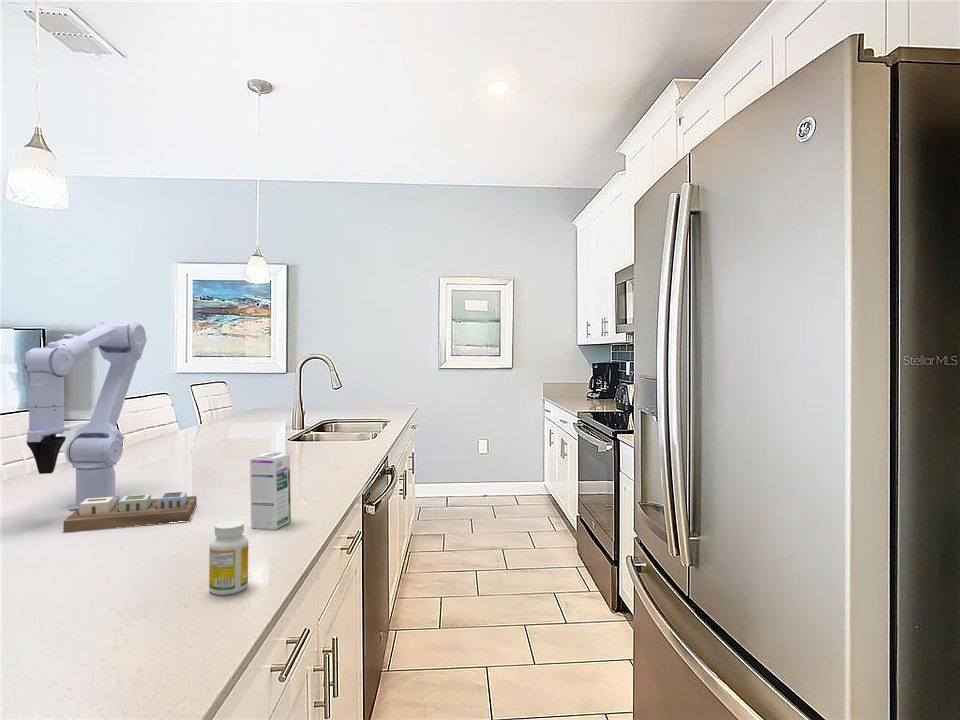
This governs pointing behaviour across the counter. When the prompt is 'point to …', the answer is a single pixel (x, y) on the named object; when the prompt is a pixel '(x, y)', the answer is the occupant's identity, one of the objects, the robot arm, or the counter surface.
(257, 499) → the syrup box
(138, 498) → the tile two
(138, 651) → the counter surface
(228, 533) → the supplement bottle
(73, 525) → the frame
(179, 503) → the tile three
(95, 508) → the tile one
